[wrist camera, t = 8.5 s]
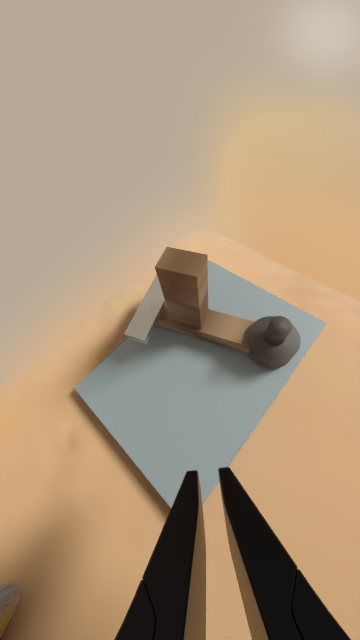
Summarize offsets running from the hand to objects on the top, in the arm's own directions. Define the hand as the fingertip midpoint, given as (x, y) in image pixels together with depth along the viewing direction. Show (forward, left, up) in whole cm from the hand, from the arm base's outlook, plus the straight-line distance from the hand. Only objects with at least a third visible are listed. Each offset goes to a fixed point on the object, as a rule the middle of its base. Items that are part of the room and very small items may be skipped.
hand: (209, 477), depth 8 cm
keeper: (-1, +14, -11) cm, 17 cm away
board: (+2, +8, -11) cm, 14 cm away
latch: (+3, +10, -9) cm, 14 cm away
